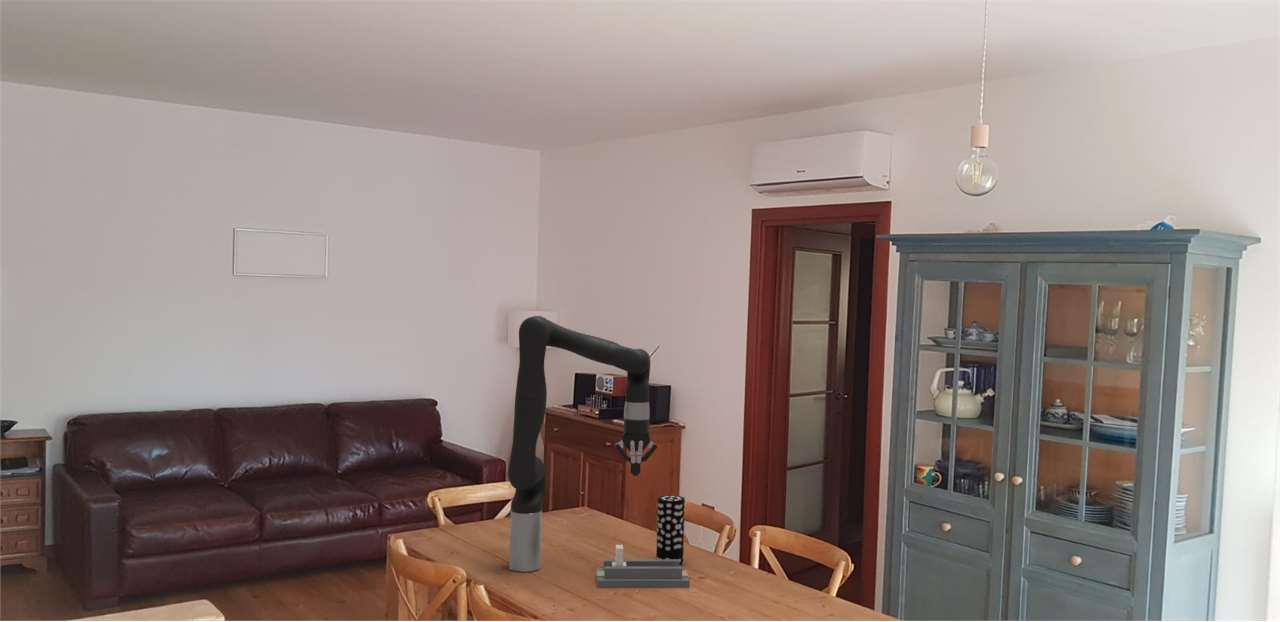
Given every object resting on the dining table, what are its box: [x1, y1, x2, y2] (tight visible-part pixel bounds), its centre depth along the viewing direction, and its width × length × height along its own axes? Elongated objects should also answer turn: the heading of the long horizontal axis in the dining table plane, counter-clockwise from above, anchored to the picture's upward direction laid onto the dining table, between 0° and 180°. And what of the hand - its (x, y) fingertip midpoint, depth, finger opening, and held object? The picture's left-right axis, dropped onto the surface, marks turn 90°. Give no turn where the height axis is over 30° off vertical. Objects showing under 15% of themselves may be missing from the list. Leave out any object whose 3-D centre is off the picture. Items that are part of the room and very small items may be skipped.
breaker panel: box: [595, 558, 691, 589], centre depth 273 cm, size 26×12×5 cm, turn 94°
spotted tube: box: [655, 494, 686, 567], centre depth 291 cm, size 8×8×20 cm
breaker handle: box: [612, 544, 626, 566], centre depth 272 cm, size 4×4×8 cm
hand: (635, 475), depth 280 cm, fingers closed
